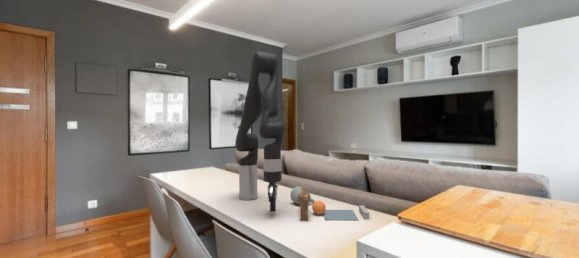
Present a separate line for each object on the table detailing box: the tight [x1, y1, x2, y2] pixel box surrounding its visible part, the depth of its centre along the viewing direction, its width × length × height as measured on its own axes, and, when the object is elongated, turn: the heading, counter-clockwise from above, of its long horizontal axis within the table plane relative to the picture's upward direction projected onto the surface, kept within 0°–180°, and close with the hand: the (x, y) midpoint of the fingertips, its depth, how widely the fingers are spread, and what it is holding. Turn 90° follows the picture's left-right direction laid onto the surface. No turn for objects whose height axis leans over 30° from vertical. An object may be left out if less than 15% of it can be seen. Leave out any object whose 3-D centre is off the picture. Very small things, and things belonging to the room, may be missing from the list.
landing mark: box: [323, 209, 359, 221], centre depth 114 cm, size 13×13×1 cm
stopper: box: [358, 205, 370, 220], centre depth 113 cm, size 2×10×2 cm, turn 177°
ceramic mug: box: [289, 186, 315, 206], centre depth 131 cm, size 11×8×8 cm
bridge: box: [299, 187, 309, 222], centre depth 114 cm, size 3×15×9 cm, turn 177°
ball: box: [311, 200, 327, 215], centre depth 115 cm, size 6×6×6 cm
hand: (272, 211), depth 115 cm, fingers closed
